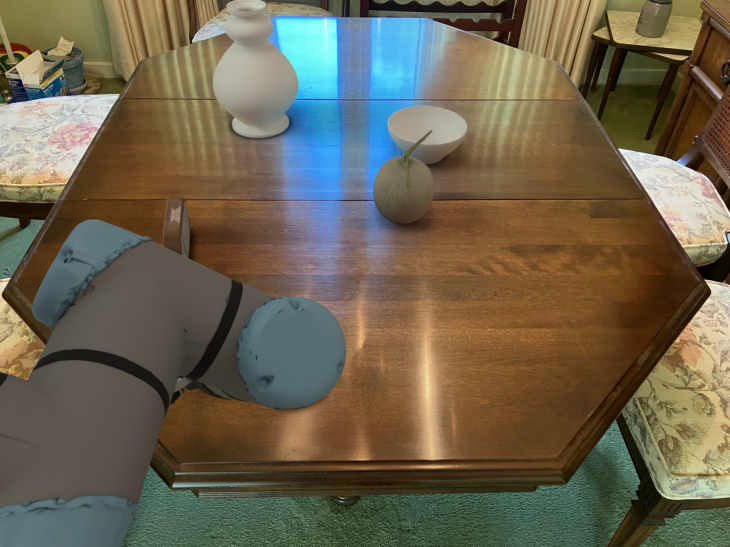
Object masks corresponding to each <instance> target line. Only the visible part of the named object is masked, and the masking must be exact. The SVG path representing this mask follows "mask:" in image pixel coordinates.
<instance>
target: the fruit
mask: <svg viewBox="0 0 730 547" xmlns="http://www.w3.org/2000/svg"><path fill="white" fill-rule="evenodd" d="M431 132H432V130H430V131H429V132H428V133H427V134H426V135H425V136H424V137H422V138H421V139H420V140H419V141H418V142H416V143H415V144H414V145H413V146H412V147H411V148H409V149H408V150H407V151H406V152H405V153H404V152H403V155H399V156H395V157H392V158H389V159H388V160H387V161H385V162H384V163H383V164H382V165H381V167H379V169H378V171H377V173H376V175H375V178H374V181H373V185H372V186H373V188H372V195H373V202H374V205H375V207H376V209H377V212H378V213H379V214H380V215H381V216H382V217H383V218H384V219H385V220H388V222H391V223H395V224H404V225H405V224H411V223H414V222H416V221H418V220H419V219H421V218H422V217H423V216H424V215H425V214H426V213H427V211H428V210H429V208H430V206H431V204H432V202H433V199H434V195H435V180H434V176H433V174H432V172H431V170H430V168H429V167H428V166H427V164H424V163H423V162H422V161H420V160H418V159H416V158H413V157H410V154H411V153H412V152H413V151H414V150H415V148H416V147H417V146H418V145H419V144H420V143H421V142H423V141H424V140H425V139H426V138H427V136H428V135H429V134H430V133H431Z"/></svg>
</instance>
